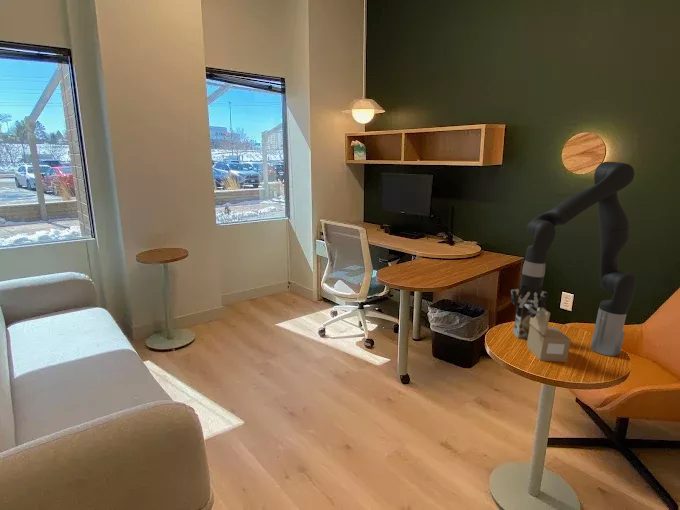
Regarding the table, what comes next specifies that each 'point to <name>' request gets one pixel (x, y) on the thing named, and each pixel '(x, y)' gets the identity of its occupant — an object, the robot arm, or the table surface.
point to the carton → (549, 344)
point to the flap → (539, 319)
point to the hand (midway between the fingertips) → (525, 316)
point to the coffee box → (523, 322)
